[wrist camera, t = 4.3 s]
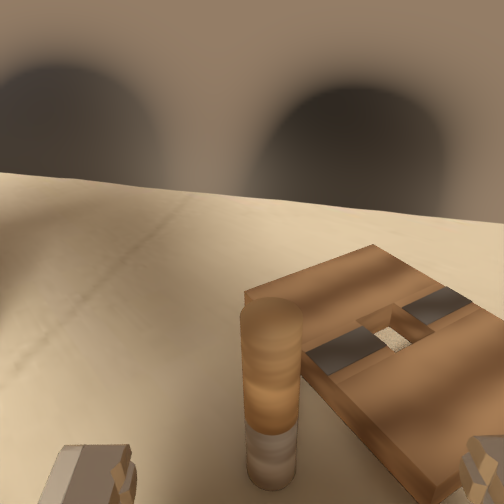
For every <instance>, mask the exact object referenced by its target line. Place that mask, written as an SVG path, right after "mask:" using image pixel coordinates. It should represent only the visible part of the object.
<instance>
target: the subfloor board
mask: <svg viewBox="0 0 504 504" xmlns="http://www.w3.org/2000/svg"><path fill="white" fill-rule="evenodd" d="M244 297H245V306H246V305H247V304H248V303H250V302H252V301H254V300H256V299H260V298H265V297H277V298H283V299H286V300H289V301H291V302H293V303H294V304H296V305H297V306H298V307H299V308H300V310H301V311H302V314H303V331H302V351H301V370H300V374H301V375H302V377H303V378H304V379H305V380H306V381H307V382H308V383H309V384H310V385H311V386H312V387H313V389H314V390H315V391H316V392H317V393H318V394H319V395H320V396H321V397H322V398H323V399H324V401H325V402H326V403H327V404H328V405H329V406H330V407H331V408H332V409H333V410H334V411H335V413H336V414H337V415H338V416H339V417H340V418H341V419H342V420H343V421H344V422H345V423H346V425H347V426H348V427H349V428H350V429H351V430H352V431H353V432H354V433H355V434H356V435H357V437H358V438H359V439H360V440H361V441H362V442H363V443H364V444H365V445H366V446H367V447H368V449H369V450H370V451H371V452H372V453H373V454H374V455H375V456H376V457H377V458H378V459H379V461H380V462H381V463H382V464H383V465H384V466H385V467H386V468H387V469H388V470H389V471H390V473H391V474H392V475H393V476H394V477H395V478H396V479H397V480H398V481H399V482H400V483H401V485H402V486H403V487H404V488H405V489H406V490H407V491H408V492H409V493H410V494H411V495H412V497H413V498H414V499H415V500H416V501H417V502H418V503H419V504H439V503H440V502H442V501H443V500H444V499H446V498H447V497H448V496H449V495H451V494H452V493H453V492H455V491H456V490H457V489H458V488H460V487H461V486H462V484H461V480H460V475H459V464H460V460H461V457H462V456H463V455H465V454H466V453H468V452H469V450H468V448H467V446H466V444H467V441H468V439H469V438H470V437H472V436H482V435H504V321H503V320H502V319H500V318H498V317H496V316H495V315H493V314H491V313H490V312H488V311H486V310H485V309H483V308H481V307H479V306H478V305H476V304H474V303H473V302H472V301H471V300H469V299H467V298H466V297H464V296H462V295H461V294H459V293H457V292H455V291H454V290H452V289H450V288H449V287H447V286H446V287H445V286H444V285H442V284H440V283H438V282H437V281H435V280H433V279H432V278H430V277H428V276H427V275H425V274H423V273H421V272H420V271H418V270H416V269H415V268H413V267H411V266H409V265H408V264H406V263H404V262H403V261H401V260H399V259H398V258H396V257H394V256H392V255H391V254H389V253H387V252H386V251H384V250H382V249H380V248H379V247H377V246H375V245H374V244H372V245H370V246H367V247H364V248H361V249H359V250H356V251H353V252H350V253H348V254H345V255H342V256H339V257H337V258H334V259H331V260H329V261H326V262H323V263H320V264H318V265H315V266H312V267H309V268H307V269H304V270H301V271H298V272H296V273H293V274H290V275H288V276H285V277H282V278H279V279H277V280H274V281H271V282H268V283H266V284H263V285H260V286H257V287H255V288H252V289H249V290H247V291H244ZM389 326H390V327H391V328H392V329H394V330H395V331H396V332H398V333H399V334H400V335H402V336H403V337H404V338H406V339H407V340H408V341H410V342H411V343H412V345H410V346H408V347H406V348H404V349H402V350H400V351H398V352H397V353H395V352H394V351H393V350H391V349H390V348H389V347H388V346H387V345H386V344H385V343H384V342H383V341H381V340H380V339H379V338H378V337H376V336H375V335H374V333H376V332H378V331H380V330H382V329H384V328H386V327H389Z"/></svg>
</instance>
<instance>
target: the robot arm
mask: <svg viewBox="0 0 504 504" xmlns="http://www.w3.org/2000/svg"><path fill="white" fill-rule="evenodd" d="M466 446H467V448H468V450H469V452H468V453H466V454H465V455H463V456H462V457H461V460H460V464H459V475H460V480H461V484H462V487H463V490H464V492H465V495H466V497H467V499H468V500H470V501H471V502H472V503H473V504H504V435H482V436H472V437H470V438H469V439H468V441H467V444H466ZM131 455H132V451H131V448H130V445H129V444H114V445H64V446H63V448H62V449H61V450H60V452H59V453H58V456H57V458H56V461H55V463H54V465H53V468H52V470H51V473H50V475H49V477H48V480H47V482H46V485H45V487H44V489H43V492H42V494H41V497H40V499H39V502H38V504H134V500H135V495H136V487H137V470H136V466H135V464H134V463H133V462H131V461H130V459H131Z"/></svg>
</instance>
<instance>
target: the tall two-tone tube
mask: <svg viewBox="0 0 504 504" xmlns="http://www.w3.org/2000/svg"><path fill="white" fill-rule="evenodd" d="M240 328H241V350H242V371H243V393H244V414H245V436H246V457H247V472H248V475H249V478H250V479H251V481H252V482H253V483H254V484H255V485H256V486H257V487H259V488H261V489H264V490H267V491H276V490H280V489H283V488H284V487H286V486H287V485H288V484H289V483H290V482H291V481H292V479H293V477H294V475H295V468H296V448H297V429H298V409H299V390H300V370H301V351H302V331H303V314H302V311H301V310H300V308H299V307H298V306H297V305H296V304H294V303H293V302H291V301H289V300H286V299H283V298H277V297H265V298H260V299H256V300H254V301H252V302H250V303H248V304H247V305H246V306H245V307H244V308H243V309H242V311H241V314H240Z"/></svg>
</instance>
